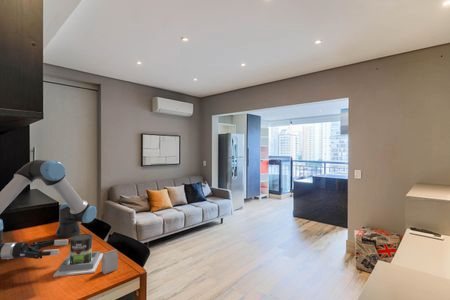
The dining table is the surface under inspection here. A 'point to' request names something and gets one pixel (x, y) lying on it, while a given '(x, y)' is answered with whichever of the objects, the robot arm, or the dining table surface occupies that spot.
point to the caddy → (79, 266)
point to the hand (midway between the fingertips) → (63, 246)
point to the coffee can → (81, 249)
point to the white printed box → (109, 261)
